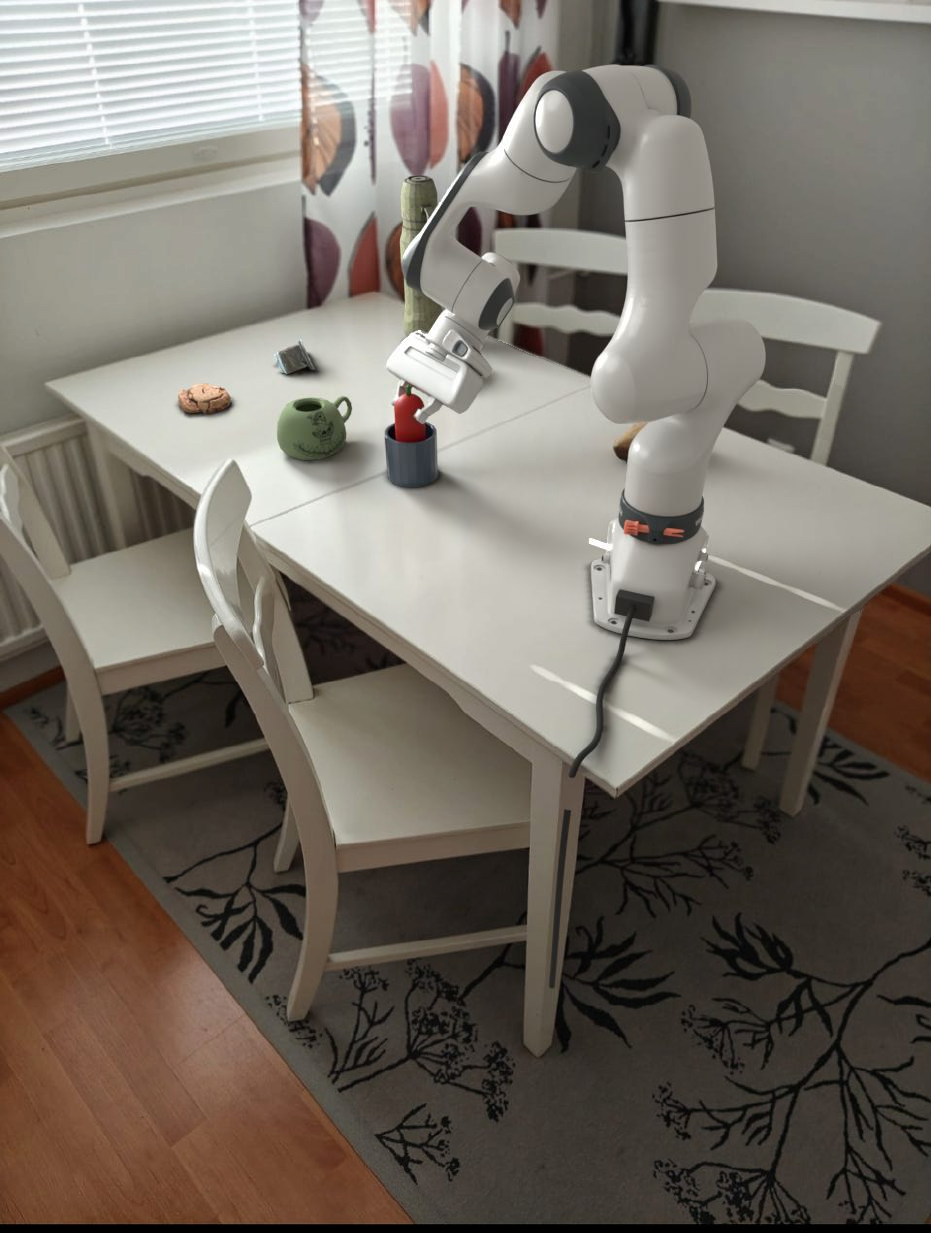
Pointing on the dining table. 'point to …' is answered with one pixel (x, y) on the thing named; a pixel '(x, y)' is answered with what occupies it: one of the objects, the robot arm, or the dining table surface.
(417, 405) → the pepper
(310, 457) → the mug
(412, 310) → the thermos
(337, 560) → the dining table surface
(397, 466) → the cup
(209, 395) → the cookie
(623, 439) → the vegetable
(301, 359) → the grey blocky piece
